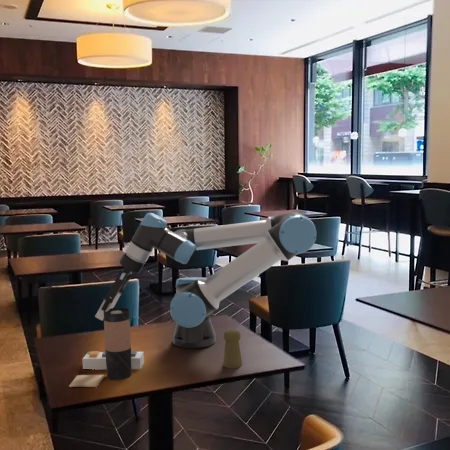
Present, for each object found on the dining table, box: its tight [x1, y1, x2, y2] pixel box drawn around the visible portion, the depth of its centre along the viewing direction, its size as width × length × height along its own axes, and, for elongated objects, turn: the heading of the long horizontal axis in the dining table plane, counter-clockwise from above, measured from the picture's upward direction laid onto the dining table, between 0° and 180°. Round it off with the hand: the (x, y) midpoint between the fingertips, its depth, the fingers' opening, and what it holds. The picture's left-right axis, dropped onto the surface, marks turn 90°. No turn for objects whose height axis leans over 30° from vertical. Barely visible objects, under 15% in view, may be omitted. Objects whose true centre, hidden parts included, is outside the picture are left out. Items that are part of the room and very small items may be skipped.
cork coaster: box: [68, 374, 105, 388], centre depth 166 cm, size 8×8×1 cm
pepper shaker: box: [222, 329, 243, 369], centre depth 177 cm, size 6×6×11 cm
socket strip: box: [81, 350, 145, 371], centre depth 179 cm, size 18×6×4 cm, turn 88°
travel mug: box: [103, 307, 132, 381], centre depth 170 cm, size 8×8×20 cm
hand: (103, 313), depth 186 cm, fingers open, 13 cm apart
